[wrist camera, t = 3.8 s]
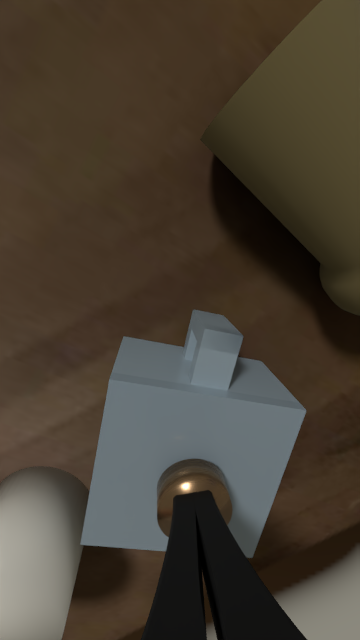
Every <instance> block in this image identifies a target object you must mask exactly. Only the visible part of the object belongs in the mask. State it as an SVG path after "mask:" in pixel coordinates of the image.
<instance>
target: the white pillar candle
mask: <svg viewBox="0 0 360 640" xmlns="http://www.w3.org/2000/svg"><path fill="white" fill-rule="evenodd" d="M88 498H89V491H88V490H87V488H86V486H85V485H84V484H83V483H82V482H81V481H80V480H79V479H78V478H76V477H75V476H74V475H72V474H70V473H68V472H66V471H64V470H61V469H57V468H53V467H44V466H38V467H29V468H25V469H21V470H19V471H16V472H14V473H12V474H11V475H9V476H8V477H6V478H5V479H4V480H3V481H2V482H1V483H0V640H61V639H62V636H63V632H64V628H65V623H66V619H67V615H68V610H69V606H70V602H71V598H72V593H73V589H74V585H75V580H76V576H77V572H78V567H79V563H80V559H81V555H82V550H83V546H84V545H80V543H81V538H82V532H83V526H84V521H85V515H86V509H87V504H88Z"/></svg>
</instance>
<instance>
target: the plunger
mask: <svg viewBox="0 0 360 640" xmlns="http://www.w3.org/2000/svg"><path fill="white" fill-rule="evenodd" d="M206 490H209V491H211V492H212V494H213V497H214V499H215V502H216V504H217V506H218V508H219V510H220V513H221V515H222V516H223V518H224V520H225V522H226V524H227V525H228V524H229V522H230V520H231V517H232V511H233V509H232V503H231V500H230V496H229V493H228V490H227V486H226V483H225V480H224V476H223V474H222V472H221V471H220V469H219V468H218V467H217V466H215V465H214V464H213V463H211V462H209V461H206V460H202V459H186V460H182V461H179V462H176V463H175V464H173V465H171V466H170V467H168V468H167V469H166V470H165V471H164V472H163V473H162V475H161V476H160V478H159V480H158V483H157V521H158V525H159V527H160V529H161V531H162V532H163V533H164V534H165V535H166V536H167V537H169V534H170V527H171V521H172V512H173V498H174V497H175V496H176V495H181V494H187V493H193V492H199V491H206Z"/></svg>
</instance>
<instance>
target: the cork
mask: <svg viewBox="0 0 360 640" xmlns="http://www.w3.org/2000/svg"><path fill="white" fill-rule="evenodd" d="M200 140H201V141H202V142H203V143H204V144H205V145H206V146H207V147H208V148H209V149H210V150H211V151H212V152H213V153H214V154H215V155H216V156H217V157H218V158H219V159H220V160H221V161H222V162H223V164H224V165H225V166H226V167H227V168H228V169H229V170H230V171H231V172H232V173H233V174H234V175H235V176H236V177H237V178H238V179H239V180H240V181H241V182H242V183H243V184H244V185H245V186H246V187H247V188H248V189H249V190H250V191H251V192H252V193H253V194H254V195H255V196H256V197H257V198H258V199H259V200H260V201H261V203H262V204H263V205H264V206H265V207H266V208H267V209H268V210H269V211H270V212H271V213H272V214H273V215H274V216H275V217H276V218H277V219H278V220H279V221H280V222H281V223H282V224H283V225H284V226H285V227H286V228H287V229H288V230H289V231H290V232H291V233H292V234H293V235H294V236H295V237H296V238H297V239H298V240H299V242H300V243H301V244H302V245H303V246H304V247H305V248H306V249H307V250H308V251H309V252H310V253H311V254H312V255H313V256H314V257H315V258H316V259H317V260H318V261H319V262H320V280H321V283H322V286H323V289H324V290H325V292H326V293H327V295H328V296H329V297H330V299H331V300H332V301H333V302H334V303H335V304H336V305H337V306H338V307H340V308H341V309H342V310H345V311H347V312H350V313H352V314H355V315H358V316H360V0H322V1H321V2H320V3H319V4H318V5H317V6H316V7H315V8H314V9H313V10H312V11H311V12H310V13H309V14H308V15H307V16H306V17H305V18H304V19H303V20H302V21H301V22H300V23H299V24H298V25H297V26H296V27H295V28H294V29H293V30H292V31H291V32H290V33H289V35H288V36H287V37H286V38H285V39H284V40H283V41H282V42H281V43H280V44H279V45H278V46H277V47H276V48H275V50H274V51H273V52H272V53H271V54H270V55H269V56H268V57H267V58H266V59H265V60H264V61H263V63H262V64H261V65H260V66H259V67H258V68H257V69H256V70H255V72H254V73H253V74H252V75H251V76H250V77H249V78H248V79H247V81H246V82H245V83H244V84H243V85H242V86H241V87H240V88H239V90H238V91H237V92H236V93H235V94H234V95H233V97H232V98H231V99H230V100H229V101H228V103H227V104H226V105H225V106H224V107H223V109H222V110H221V111H220V112H219V113H218V115H217V116H216V117H215V119H214V120H213V121H212V122H211V124H210V125H209V126H208V128H207V129H206V130H205V132H204V134H203V135H202V137H201V139H200Z"/></svg>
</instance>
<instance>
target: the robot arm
mask: <svg viewBox="0 0 360 640" xmlns="http://www.w3.org/2000/svg"><path fill="white" fill-rule="evenodd" d="M202 572H203V576H204V581H205V585H206V590H207V594H208V599H209V603H210V608H211V612H212V617H213V621H214V626H215V630H216V635H217V639H218V640H307V639H306V638H305V637H304V636H303V634H302V633H301V632H300V631H299V630H298V629H297V627H296V626H295V625H294V623H293V622H292V621H291V619H290V618H289V617H288V616H287V614H286V613H285V612H284V610H283V609H282V608H281V607H280V606H279V604H278V603H277V601H276V600H275V599H274V597H273V596H272V595H271V593H270V592H269V590H268V589H267V588H266V586H265V585H264V583H263V582H262V581H261V579H260V578H259V576H258V575H257V573H256V572H255V570H254V569H253V567H252V566H251V564H250V563H249V561H248V560H247V558H246V556H245V555H244V553H243V552H242V550H241V548H240V547H239V545H238V543H237V542H236V540H235V538H234V537H233V535H232V533H231V531H230V530H229V528H228V526H227V524H226V522H225V520H224V518H223V516H222V515H221V513H220V510H219V508H218V506H217V504H216V502H215V499H214V497H213V494H212V492H211V491H209V490H206V491H199V492H193V493H187V494H181V495H176V496H175V497H174V498H173V512H172V521H171V527H170V534H169V539H168V544H167V549H166V554H165V558H164V563H163V567H162V570H161V574H160V578H159V582H158V586H157V590H156V593H155V597H154V600H153V604H152V607H151V610H150V614H149V617H148V620H147V623H146V626H145V629H144V632H143V635H142V638H141V640H207V637H206V623H205V610H204V595H203V581H202Z"/></svg>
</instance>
